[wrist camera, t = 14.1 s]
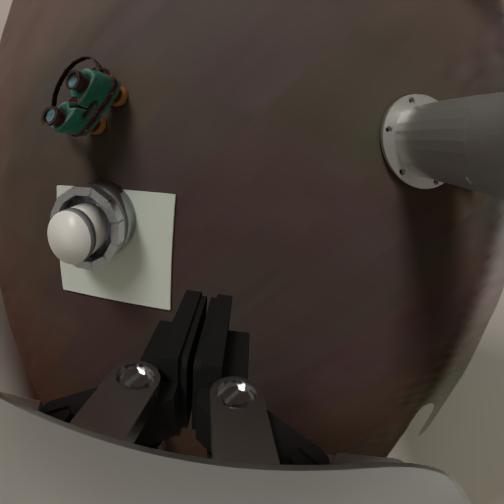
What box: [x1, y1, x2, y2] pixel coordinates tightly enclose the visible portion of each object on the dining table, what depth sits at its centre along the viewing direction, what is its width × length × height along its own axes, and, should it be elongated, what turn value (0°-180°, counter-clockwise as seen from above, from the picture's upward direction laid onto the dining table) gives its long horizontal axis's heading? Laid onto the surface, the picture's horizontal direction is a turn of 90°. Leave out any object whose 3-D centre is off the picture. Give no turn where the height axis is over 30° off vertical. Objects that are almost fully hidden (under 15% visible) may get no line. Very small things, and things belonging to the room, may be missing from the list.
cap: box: [48, 202, 110, 264], centre depth 31 cm, size 6×6×5 cm
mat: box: [57, 185, 176, 310], centre depth 39 cm, size 18×16×1 cm
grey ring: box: [50, 181, 136, 270], centre depth 34 cm, size 10×10×6 cm
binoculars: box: [41, 56, 128, 137], centre depth 27 cm, size 9×11×10 cm
